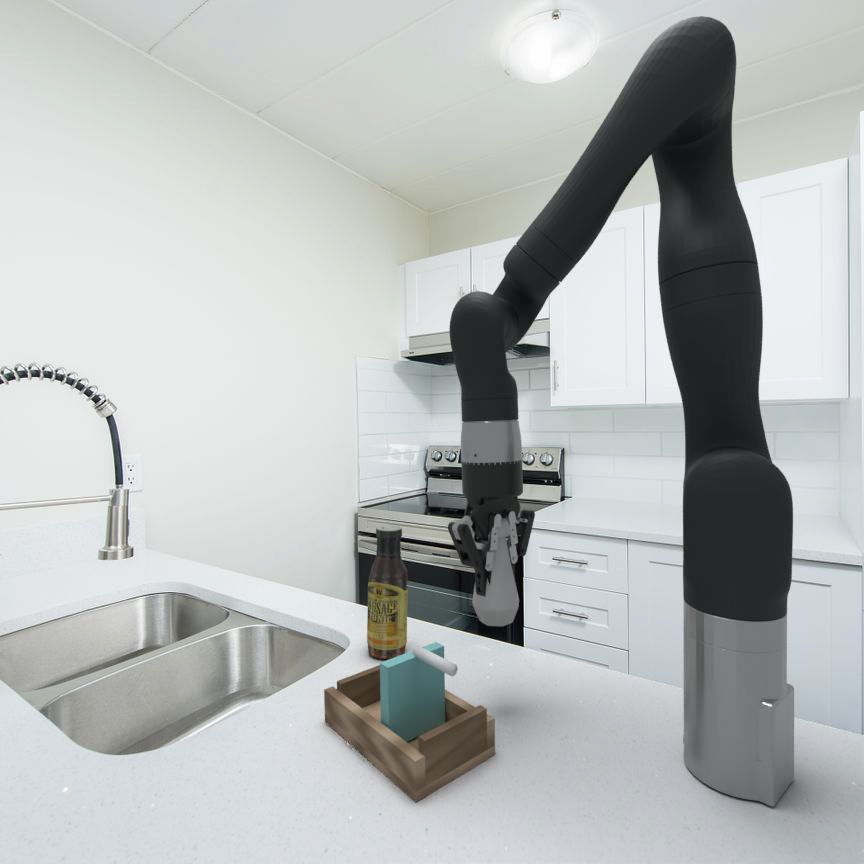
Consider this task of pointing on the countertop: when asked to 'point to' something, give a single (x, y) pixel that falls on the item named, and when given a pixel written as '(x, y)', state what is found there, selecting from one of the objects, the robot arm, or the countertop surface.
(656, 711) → the countertop surface
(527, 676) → the countertop surface
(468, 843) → the countertop surface
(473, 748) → the wooden tray
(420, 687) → the pusher paddle
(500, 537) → the salt shaker
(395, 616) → the sauce bottle
